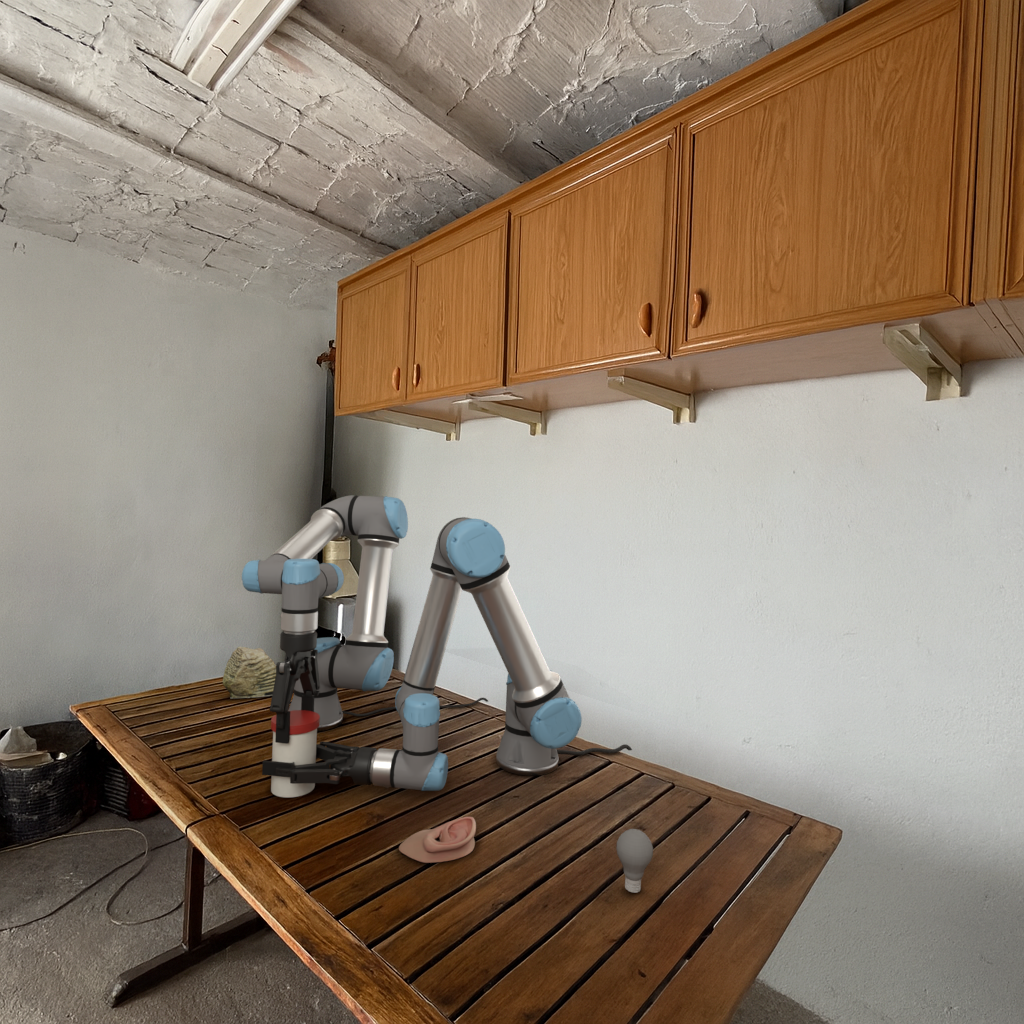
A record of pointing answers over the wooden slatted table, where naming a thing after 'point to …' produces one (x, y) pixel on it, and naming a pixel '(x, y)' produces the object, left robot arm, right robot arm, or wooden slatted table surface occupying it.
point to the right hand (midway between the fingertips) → (274, 758)
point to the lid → (300, 721)
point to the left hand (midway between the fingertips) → (295, 733)
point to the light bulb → (634, 857)
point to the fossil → (249, 673)
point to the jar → (296, 751)
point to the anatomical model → (441, 842)
